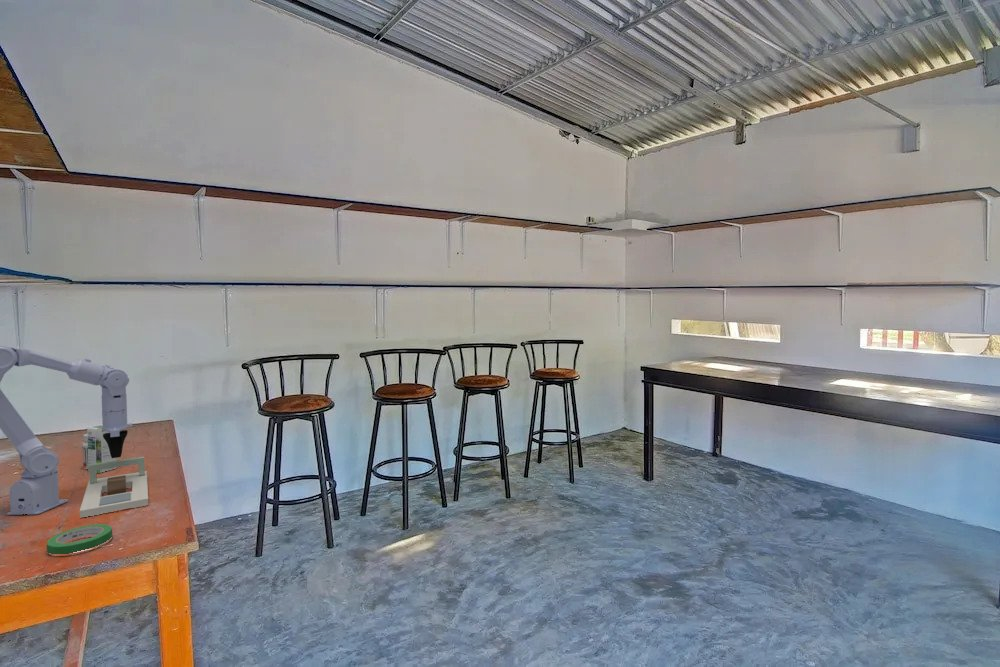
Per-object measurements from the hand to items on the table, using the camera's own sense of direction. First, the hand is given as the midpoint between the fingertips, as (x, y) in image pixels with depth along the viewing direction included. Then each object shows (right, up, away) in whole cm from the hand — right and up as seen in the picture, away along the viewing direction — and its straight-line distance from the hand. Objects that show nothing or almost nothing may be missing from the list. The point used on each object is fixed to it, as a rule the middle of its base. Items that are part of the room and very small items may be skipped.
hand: (116, 457), depth 147 cm
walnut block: (+4, -10, -5) cm, 11 cm away
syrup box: (-19, -9, +20) cm, 29 cm away
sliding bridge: (-2, -7, +4) cm, 8 cm away
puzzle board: (+4, -10, -5) cm, 11 cm away
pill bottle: (-24, -9, +23) cm, 35 cm away
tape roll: (+19, -11, -36) cm, 42 cm away
